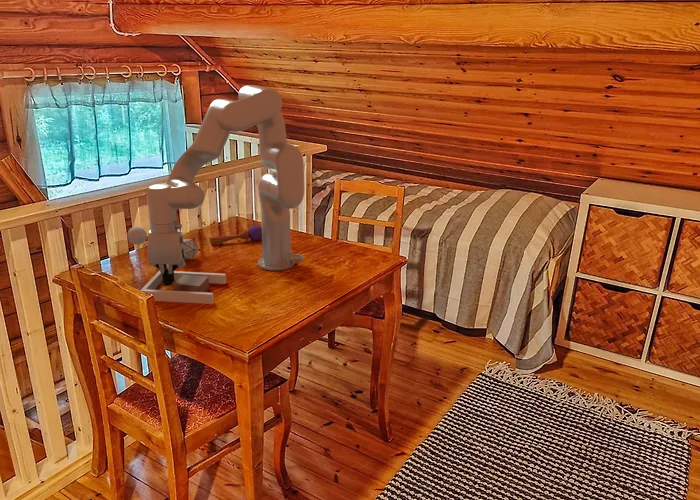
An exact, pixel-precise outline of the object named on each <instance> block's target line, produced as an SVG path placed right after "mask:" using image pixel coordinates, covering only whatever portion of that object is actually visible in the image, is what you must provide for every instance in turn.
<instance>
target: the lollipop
mask: <svg viewBox="0 0 700 500" xmlns="http://www.w3.org/2000/svg"><path fill="white" fill-rule="evenodd" d="M126 235H127V236H126V238H127V240H128V241H129V242H130V243H131V244H133V245H136V246H137V253H138V261H139V270H140V271H142V269H143V268H142V262H141V253H140V245H141V244H143V243H145V241H146V240H147V239H148V233H147V231H146V230H145V228H143V227H142V226H138V225H136V226H133V227H131V228H129V229H128V232H127V234H126Z"/></svg>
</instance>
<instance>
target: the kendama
mask: <svg viewBox="0 0 700 500" xmlns="http://www.w3.org/2000/svg"><path fill="white" fill-rule="evenodd" d="M237 239H242V240H246V241H249V240H251V241H253V242H257V241H261V240H262V226H260V225H256V224H254V225H252V226H250V227H249V228H248V229H247V228H246V229H244V230H243V231H242V232H240V233H239V234H232V235H220V236H210V237H209V242H210V245H211V246H212V247H213V246H215V245H219V244H223V243H225V242H229V241H231V240H232V241H233V240H237Z"/></svg>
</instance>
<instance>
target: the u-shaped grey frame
mask: <svg viewBox="0 0 700 500" xmlns="http://www.w3.org/2000/svg"><path fill="white" fill-rule="evenodd" d="M183 275H193V276H204V277H208V280H209V284H219V285H226V283H227V274H226V273H218V272H196V271H181V270H180V271H178V270H175V271H174V282H176V281H177V280H178V279H179V278H180V277H181V276H183ZM162 282H163V277H162V273H161V272H160V270H159V269H158V272H157V271H156V273H155V274H154V275H153V276H152V278H150V279H149V281H148V282H146V283H145V285H144V286H142V288H140V290H141V291H143V292H146V293H149V294H152V295H153V296H154V298H155V301H154V302H169V303H187V304H189V303H191V304H206V305H207V304H208V305H213V304H214V301H215V300H214V292H207V291H206V292H187V291H174V290H164V289H157V288H158V287H159V286H160V285H161V283H162Z"/></svg>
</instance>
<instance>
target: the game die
mask: <svg viewBox="0 0 700 500" xmlns="http://www.w3.org/2000/svg"><path fill="white" fill-rule="evenodd" d="M195 239H196V237H194V238H192V239H191V238H190V239H189V238H183V241H184V247H185V254H186V258H185V259H184V260H189V261H191V262H194V257H195V256H196V255H197V253H198V252H199V251H201V249H200V248H199V247H198V246H197V243H196V241H195Z"/></svg>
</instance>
